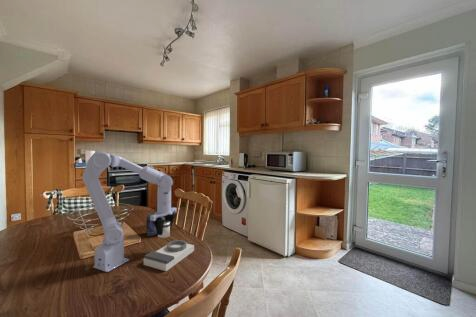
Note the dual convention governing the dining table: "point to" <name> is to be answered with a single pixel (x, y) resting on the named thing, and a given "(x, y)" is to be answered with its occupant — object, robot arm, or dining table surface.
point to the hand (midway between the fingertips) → (164, 232)
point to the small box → (151, 226)
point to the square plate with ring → (168, 255)
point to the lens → (165, 230)
